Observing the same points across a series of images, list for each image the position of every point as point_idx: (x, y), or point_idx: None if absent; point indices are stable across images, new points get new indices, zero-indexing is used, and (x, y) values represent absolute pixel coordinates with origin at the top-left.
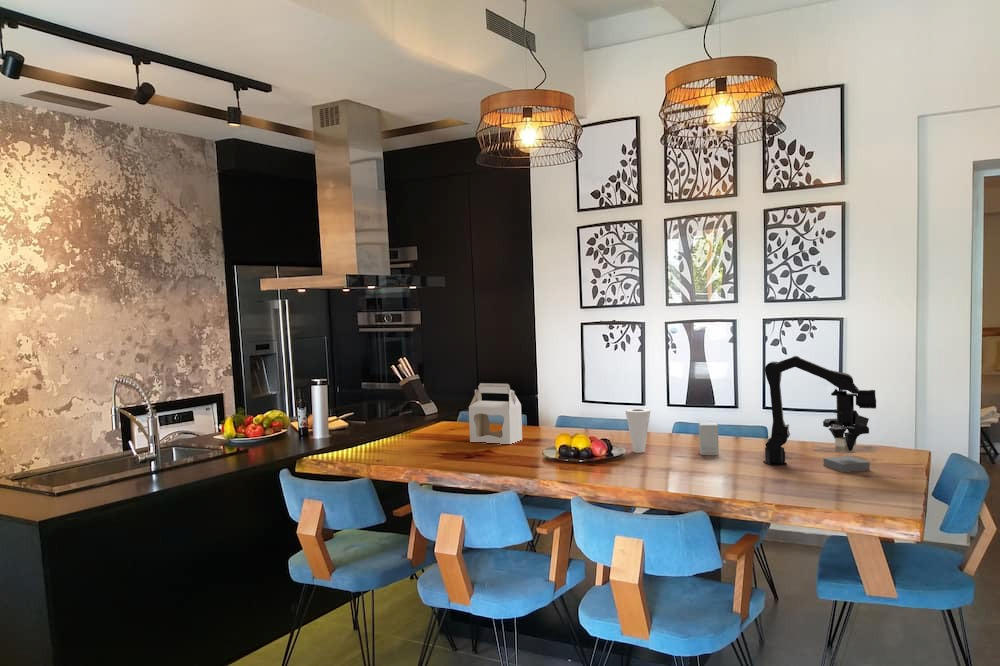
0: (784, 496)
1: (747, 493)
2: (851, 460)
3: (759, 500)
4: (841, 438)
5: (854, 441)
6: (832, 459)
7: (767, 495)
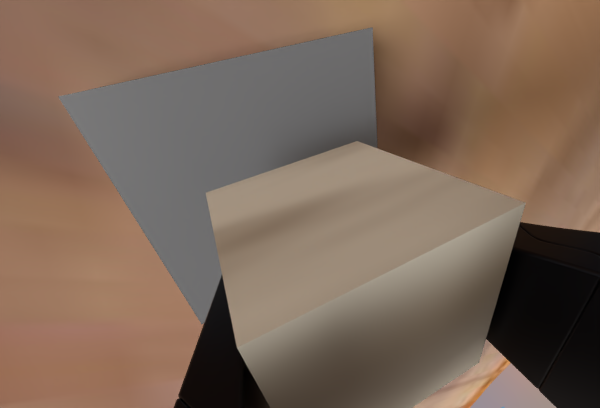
0: (487, 353)
1: (450, 401)
2: (292, 157)
3: (485, 378)
4: (381, 404)
5: (528, 237)
6: None
7: (472, 375)
